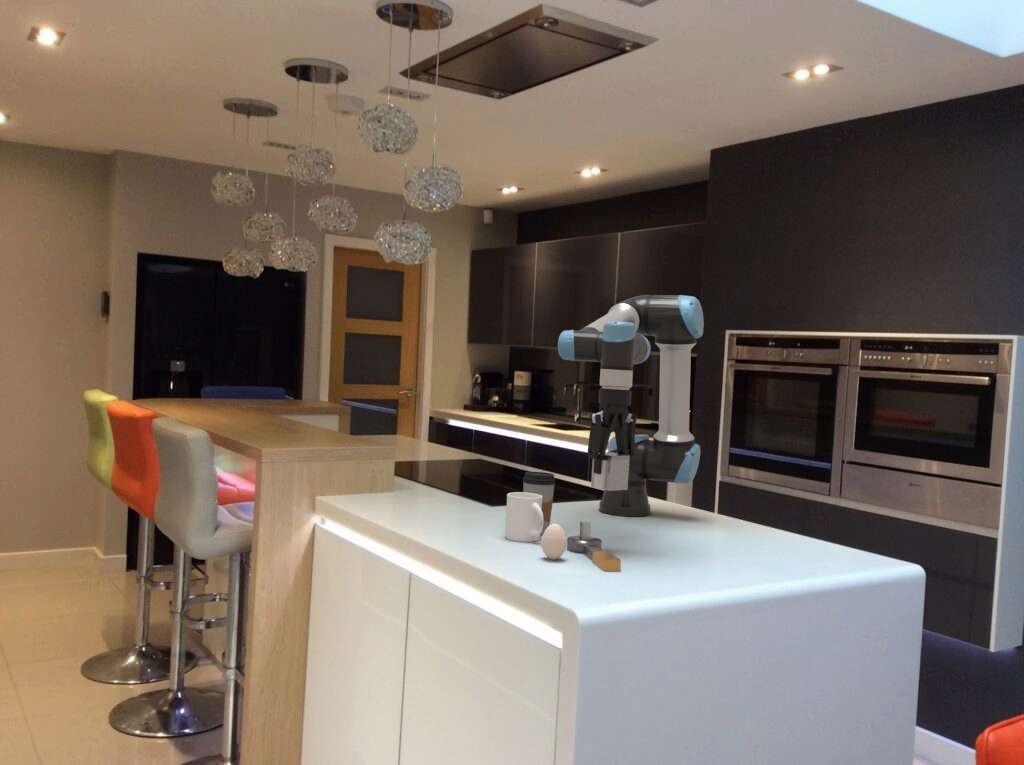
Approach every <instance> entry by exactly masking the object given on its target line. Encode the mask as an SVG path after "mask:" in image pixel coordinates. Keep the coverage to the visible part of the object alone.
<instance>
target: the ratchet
mask: <svg viewBox="0 0 1024 765" xmlns="http://www.w3.org/2000/svg"><path fill="white" fill-rule="evenodd" d="M579 522H580V523H579V535H570V536H568V537H566V550H567V551H569V552H571V553H576V554H581V555H584V556H586V557H587V558H588V559H589V560H591V562H592V563H593V564H595V565H596V567H598V568H600V569H601V570H602V571H604V572H621V567H622V564H621V563H622V560H621V559H620V558H619V557H618V556H616V555H615V554H613V553H612V552H610V551H608V550H603V549H602V546H603V545H602V543H603V541H602V539H600V538H599V537H593V536H591V532H592V531H591V530H592V523H591V522H590V521H581V520H580V521H579Z"/></svg>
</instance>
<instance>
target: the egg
mask: <svg viewBox="0 0 1024 765" xmlns="http://www.w3.org/2000/svg"><path fill="white" fill-rule="evenodd" d="M541 549H542V552H543V554H544V556H545V557H547V559H549V560H557V559H560V558H561V557H562V556H563V554H565V553H566V552H565V551H566V550H567V535H566V533H565V531H564V528H563V527H562V526H561V525H560V524H559V523H552V524H550V525H549V526H548V527H547V529H546V530H545V532H544V534H543V535H541Z"/></svg>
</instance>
